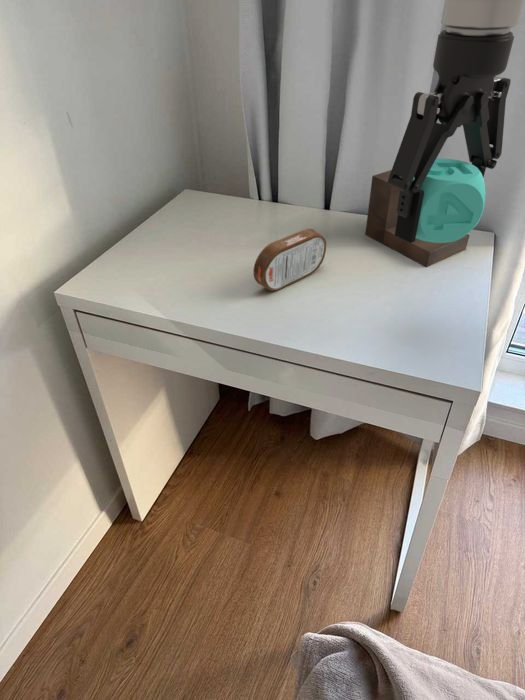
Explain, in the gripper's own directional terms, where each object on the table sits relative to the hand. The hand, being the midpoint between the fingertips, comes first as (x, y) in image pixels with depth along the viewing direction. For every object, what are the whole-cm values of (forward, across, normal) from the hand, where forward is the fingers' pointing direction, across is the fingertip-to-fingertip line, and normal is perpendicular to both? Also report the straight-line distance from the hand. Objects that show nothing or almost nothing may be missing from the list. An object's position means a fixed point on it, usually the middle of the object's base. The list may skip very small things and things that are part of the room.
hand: (434, 226), depth 66 cm
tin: (+17, +7, -22) cm, 29 cm away
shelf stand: (+17, -21, -19) cm, 33 cm away
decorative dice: (+1, 0, 0) cm, 1 cm away
